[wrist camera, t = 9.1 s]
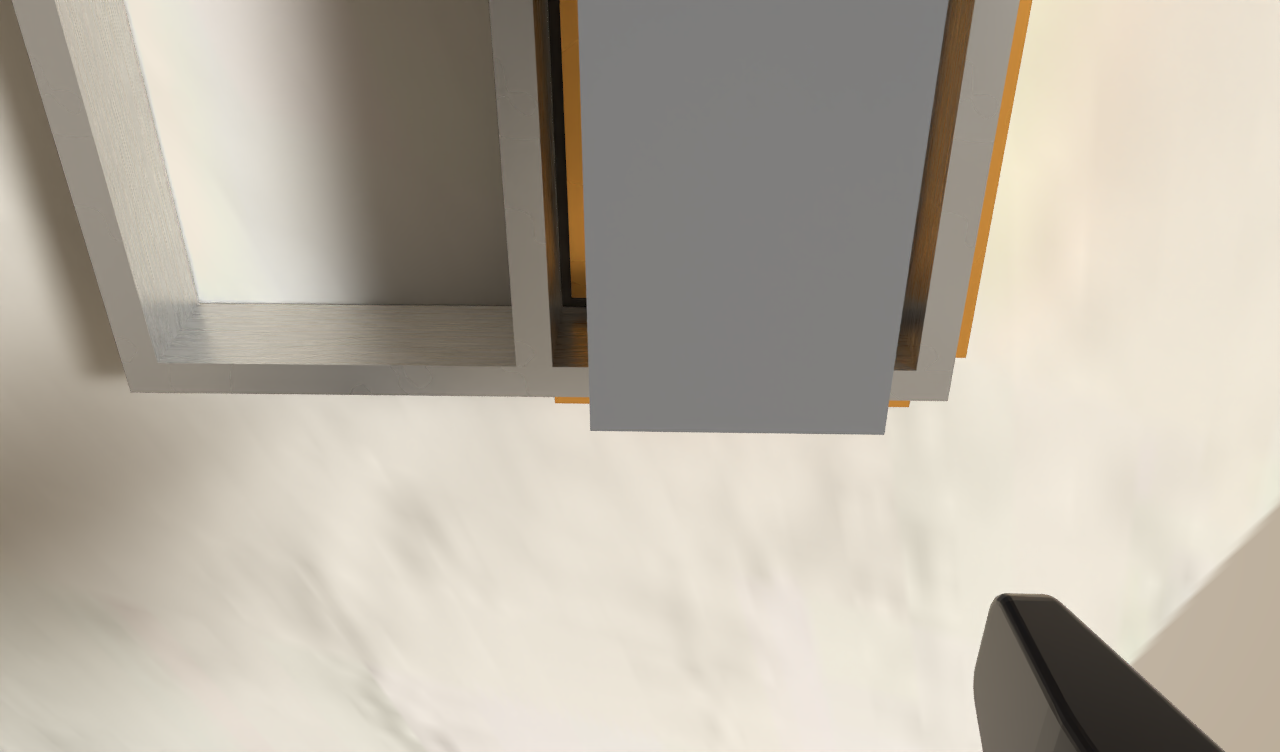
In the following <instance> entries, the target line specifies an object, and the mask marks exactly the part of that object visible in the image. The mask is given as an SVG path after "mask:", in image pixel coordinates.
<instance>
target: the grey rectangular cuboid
mask: <svg viewBox="0 0 1280 752" xmlns="http://www.w3.org/2000/svg"><path fill="white" fill-rule="evenodd" d="M948 1H949V0H578V32H579V65H580V99H581V132H582V166H583V199H584V232H585V266H586V299H587V332H588V366H589V399H590V431H645V432H720V433H796V434H871V435H884V432H885V426H886V419H887V412H888V405H889V399H890V392H891V385H892V378H893V372H894V365H895V358H896V351H897V345H898V338H899V331H900V324H901V318H902V311H903V304H904V297H905V291H906V284H907V277H908V271H909V264H910V257H911V250H912V244H913V237H914V230H915V223H916V217H917V210H918V203H919V196H920V190H921V183H922V176H923V169H924V163H925V156H926V149H927V142H928V136H929V129H930V122H931V115H932V109H933V102H934V95H935V88H936V82H937V75H938V68H939V62H940V55H941V48H942V41H943V35H944V28H945V21H946V14H947V8H948Z"/></svg>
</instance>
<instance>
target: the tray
mask: <svg viewBox="0 0 1280 752" xmlns="http://www.w3.org/2000/svg"><path fill="white" fill-rule="evenodd" d="M12 3H13V7H14V10H15V13H16V17H17V20H18V23H19V26H20V30H21V33H22V36H23V40H24V43H25V46H26V49H27V53H28V56H29V59H30V63H31V66H32V69H33V72H34V76H35V79H36V82H37V86H38V89H39V92H40V95H41V99H42V102H43V105H44V109H45V112H46V115H47V118H48V122H49V125H50V128H51V132H52V135H53V138H54V141H55V145H56V148H57V151H58V155H59V158H60V161H61V164H62V168H63V171H64V174H65V178H66V181H67V184H68V187H69V191H70V194H71V197H72V201H73V204H74V207H75V210H76V214H77V217H78V220H79V224H80V227H81V230H82V233H83V237H84V240H85V243H86V247H87V250H88V253H89V256H90V260H91V263H92V266H93V270H94V273H95V276H96V279H97V283H98V286H99V289H100V293H101V296H102V299H103V302H104V306H105V309H106V312H107V316H108V319H109V322H110V325H111V329H112V332H113V335H114V339H115V342H116V345H117V348H118V352H119V355H120V358H121V362H122V365H123V368H124V371H125V375H126V378H127V381H128V385H129V388H130V391H131V392H145V393H239V394H333V395H427V396H521V397H555V403H583V404H590V399H589V366H588V332H587V307H562V294H561V273H560V252H559V230H558V209H557V187H556V166H555V145H554V123H553V102H552V80H551V59H550V38H549V16H548V0H489V10H490V23H491V36H492V50H493V63H494V76H495V90H496V103H497V116H498V130H499V143H500V156H501V170H502V183H503V196H504V210H505V223H506V236H507V250H508V263H509V276H510V290H511V303H512V306H441V305H330V304H220V303H199V301H198V297H197V293H196V289H195V285H194V281H193V277H192V273H191V269H190V265H189V261H188V257H187V253H186V249H185V245H184V241H183V237H182V233H181V229H180V225H179V221H178V217H177V213H176V209H175V205H174V201H173V197H172V193H171V189H170V185H169V181H168V177H167V173H166V169H165V165H164V161H163V157H162V153H161V149H160V145H159V141H158V137H157V133H156V129H155V125H154V121H153V117H152V113H151V109H150V105H149V101H148V97H147V93H146V89H145V85H144V81H143V77H142V73H141V69H140V65H139V61H138V57H137V53H136V49H135V45H134V41H133V37H132V33H131V29H130V25H129V21H128V17H127V13H126V9H125V5H124V1H123V0H12ZM1031 5H1032V0H949V1H948V8H947V14H946V21H945V28H944V35H943V41H942V48H941V55H940V62H939V68H938V75H937V82H936V88H935V95H934V102H933V109H932V115H931V122H930V129H929V136H928V142H927V149H926V156H925V163H924V169H923V176H922V183H921V190H920V196H919V203H918V210H917V217H916V223H915V230H914V237H913V244H912V250H911V257H910V264H909V271H908V277H907V284H906V291H905V297H904V304H903V311H902V318H901V324H900V331H899V338H898V345H897V351H896V358H895V365H894V372H893V378H892V385H891V392H890V399H889V405H888V407H909V404H910V401H948V396H949V390H950V385H951V379H952V374H953V368H954V363H955V358H966V354H967V348H968V343H969V338H970V332H971V327H972V322H973V316H974V311H975V305H976V300H977V295H978V289H979V284H980V279H981V273H982V268H983V263H984V257H985V252H986V246H987V241H988V236H989V230H990V225H991V220H992V214H993V209H994V203H995V198H996V193H997V187H998V182H999V177H1000V171H1001V166H1002V160H1003V155H1004V150H1005V144H1006V139H1007V134H1008V128H1009V123H1010V117H1011V112H1012V107H1013V101H1014V96H1015V91H1016V85H1017V80H1018V74H1019V69H1020V64H1021V58H1022V53H1023V48H1024V42H1025V37H1026V31H1027V26H1028V21H1029V15H1030V10H1031ZM560 24H561V48H562V73H563V97H564V122H565V146H566V170H567V195H568V219H569V243H570V268H571V292H572V298H586V266H585V232H584V199H583V166H582V132H581V99H580V65H579V32H578V0H560Z"/></svg>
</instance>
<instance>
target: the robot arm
mask: <svg viewBox="0 0 1280 752" xmlns="http://www.w3.org/2000/svg"><path fill="white" fill-rule="evenodd" d="M973 689H974V701H975V708H976V714H977V719H978V725H979V731H980V737H981V743H982V749H983V752H1225V751H1224V750H1223V749H1222V748H1220V747H1219V746H1218V745H1217V744H1216V743H1215V742H1214V741H1213V740H1212V739H1210V738H1209V737H1208V736H1207V735H1206V734H1205V733H1204V732H1203V731H1202V730H1201V729H1199V728H1198V727H1197V726H1196V725H1195V724H1194V723H1193V722H1192V721H1191V720H1190V719H1189V718H1187V717H1186V716H1185V715H1184V714H1183V713H1182V712H1181V711H1180V710H1179V709H1178V708H1176V707H1175V706H1174V705H1173V704H1172V703H1171V702H1170V701H1169V700H1168V699H1166V698H1165V697H1164V696H1163V695H1162V694H1161V693H1160V692H1159V691H1158V690H1157V689H1156V688H1154V687H1153V686H1152V685H1151V684H1150V683H1149V682H1148V681H1147V680H1145V678H1143V677H1142V676H1141V675H1140V674H1139V673H1138V672H1137V671H1136V670H1135V669H1134V668H1132V667H1131V666H1130V665H1129V664H1128V663H1127V662H1126V661H1125V660H1124V659H1123V658H1121V657H1120V656H1119V655H1118V654H1117V653H1116V652H1115V651H1114V650H1113V649H1112V648H1110V647H1109V646H1108V645H1107V644H1106V643H1105V642H1104V641H1103V640H1102V639H1101V638H1099V637H1098V636H1097V635H1096V634H1095V633H1094V632H1093V631H1092V630H1091V629H1090V628H1088V627H1087V626H1086V625H1085V624H1084V623H1083V622H1082V621H1081V620H1080V619H1079V618H1077V617H1076V616H1075V615H1074V614H1073V613H1072V612H1071V611H1070V610H1069V609H1068V608H1066V607H1065V606H1064V605H1063V604H1062V603H1061V602H1060V601H1058V600H1057V599H1055V598H1054V597H1052V596H1050V595H1045V594H1011V593H1005V594H1001V595H999V596H997V597H996V598H995V599H994V600H993V602H992V604H991V606H990V609H989V613H988V617H987V621H986V625H985V629H984V633H983V637H982V641H981V645H980V649H979V653H978V658H977V662H976V666H975V671H974V683H973Z"/></svg>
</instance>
